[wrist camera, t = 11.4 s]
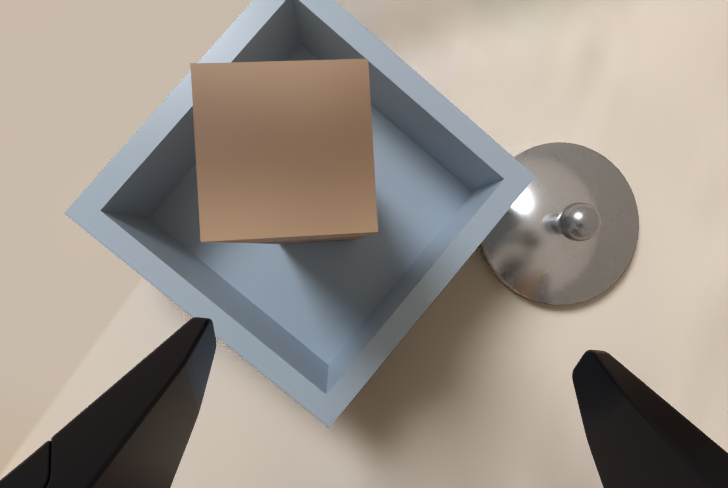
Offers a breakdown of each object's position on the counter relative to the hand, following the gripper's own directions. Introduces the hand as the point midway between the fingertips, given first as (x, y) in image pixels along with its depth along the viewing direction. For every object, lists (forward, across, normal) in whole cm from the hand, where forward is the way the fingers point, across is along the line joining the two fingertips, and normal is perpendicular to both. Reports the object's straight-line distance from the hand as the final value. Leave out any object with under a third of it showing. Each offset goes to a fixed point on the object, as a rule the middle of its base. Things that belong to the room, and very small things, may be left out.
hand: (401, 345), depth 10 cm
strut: (+12, +3, +4) cm, 13 cm away
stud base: (+13, -10, +4) cm, 17 cm away
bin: (+12, +3, +4) cm, 14 cm away
